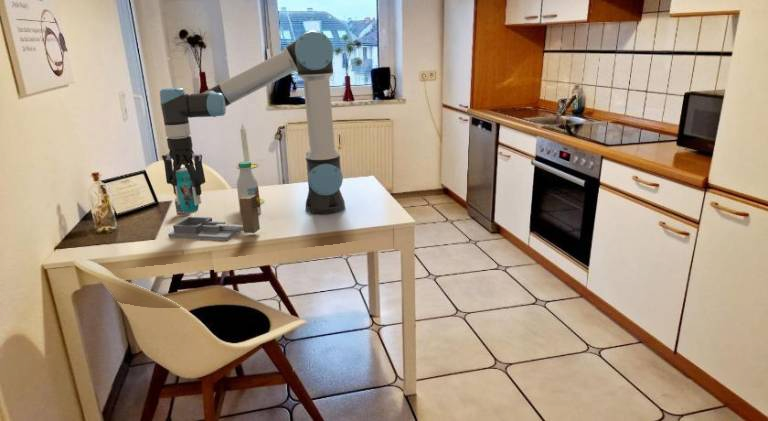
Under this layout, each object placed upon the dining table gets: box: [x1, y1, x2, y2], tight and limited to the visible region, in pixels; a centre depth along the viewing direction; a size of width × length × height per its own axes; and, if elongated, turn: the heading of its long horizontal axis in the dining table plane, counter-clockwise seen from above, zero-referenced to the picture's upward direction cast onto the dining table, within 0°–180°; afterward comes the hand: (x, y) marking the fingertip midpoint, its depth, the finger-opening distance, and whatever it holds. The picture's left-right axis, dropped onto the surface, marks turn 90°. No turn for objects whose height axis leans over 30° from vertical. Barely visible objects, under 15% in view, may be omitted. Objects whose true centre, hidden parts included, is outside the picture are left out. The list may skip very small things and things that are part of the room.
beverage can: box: [176, 167, 200, 214], centre depth 170 cm, size 6×6×15 cm
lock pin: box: [215, 195, 261, 234], centre depth 169 cm, size 15×4×12 cm, turn 78°
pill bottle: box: [174, 194, 192, 217], centre depth 193 cm, size 5×5×9 cm
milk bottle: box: [236, 161, 262, 215], centre depth 189 cm, size 8×8×20 cm
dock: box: [167, 216, 242, 241], centre depth 173 cm, size 22×12×4 cm, turn 78°
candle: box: [236, 123, 265, 205], centre depth 200 cm, size 10×10×32 cm
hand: (189, 203), depth 172 cm, fingers closed on beverage can, 6 cm apart
